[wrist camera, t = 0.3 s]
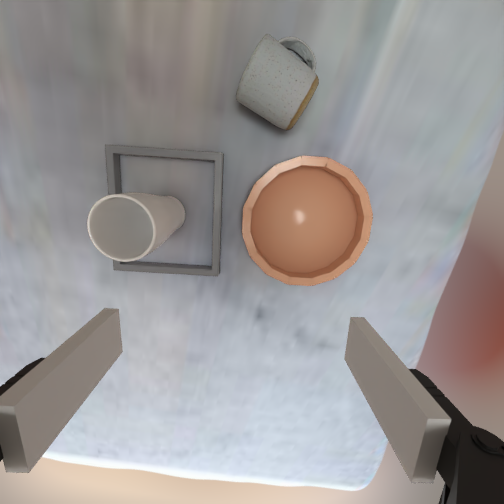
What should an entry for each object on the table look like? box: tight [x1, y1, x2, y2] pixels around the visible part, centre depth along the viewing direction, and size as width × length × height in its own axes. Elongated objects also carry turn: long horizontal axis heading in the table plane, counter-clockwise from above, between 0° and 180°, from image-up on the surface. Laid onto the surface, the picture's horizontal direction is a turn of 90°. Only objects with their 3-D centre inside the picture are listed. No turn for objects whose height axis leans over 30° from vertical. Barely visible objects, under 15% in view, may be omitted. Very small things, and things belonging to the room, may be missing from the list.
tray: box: [105, 145, 224, 276], centre depth 39 cm, size 18×16×2 cm
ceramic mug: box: [236, 34, 319, 130], centre depth 32 cm, size 11×8×8 cm
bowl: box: [242, 156, 373, 286], centre depth 38 cm, size 18×18×3 cm
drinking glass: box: [87, 192, 185, 262], centre depth 32 cm, size 7×7×15 cm
